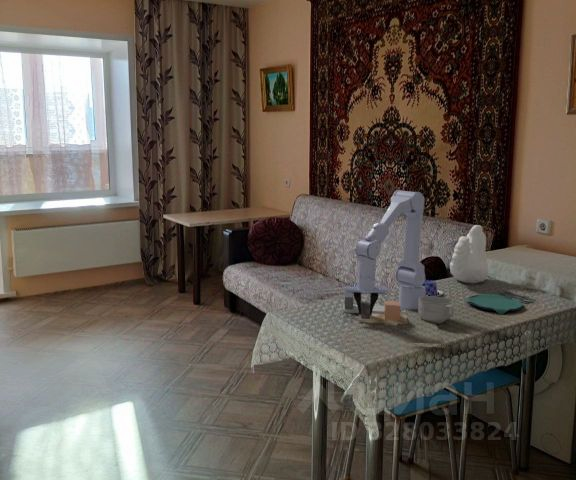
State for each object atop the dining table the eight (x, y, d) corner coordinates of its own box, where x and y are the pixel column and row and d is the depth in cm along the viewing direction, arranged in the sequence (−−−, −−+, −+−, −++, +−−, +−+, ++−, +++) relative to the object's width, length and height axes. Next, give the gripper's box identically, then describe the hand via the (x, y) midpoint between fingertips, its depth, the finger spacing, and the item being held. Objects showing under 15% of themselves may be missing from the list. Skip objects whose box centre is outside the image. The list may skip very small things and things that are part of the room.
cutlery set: (456, 304, 221) (456, 298, 220) (501, 293, 239) (502, 287, 238) (502, 318, 205) (503, 312, 205) (547, 305, 223) (548, 299, 223)
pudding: (410, 296, 232) (410, 283, 231) (415, 288, 243) (415, 276, 242) (441, 299, 227) (441, 286, 226) (444, 291, 238) (445, 279, 237)
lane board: (392, 310, 212) (392, 307, 212) (396, 328, 193) (397, 325, 192) (343, 308, 214) (343, 305, 214) (342, 326, 194) (342, 323, 194)
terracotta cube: (398, 315, 199) (399, 301, 198) (399, 320, 195) (400, 305, 194) (383, 314, 200) (384, 301, 199) (384, 319, 195) (385, 305, 194)
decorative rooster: (466, 274, 266) (470, 221, 262) (496, 281, 254) (500, 225, 249) (430, 282, 252) (433, 226, 247) (460, 290, 239) (464, 231, 235)
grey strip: (387, 308, 211) (387, 294, 210) (388, 314, 204) (389, 299, 203) (343, 306, 212) (343, 292, 211) (343, 312, 205) (343, 297, 204)
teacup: (411, 318, 204) (412, 296, 202) (437, 314, 207) (438, 293, 206) (434, 330, 191) (436, 307, 189) (462, 327, 195) (463, 304, 193)
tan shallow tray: (405, 317, 200) (406, 302, 199) (407, 324, 194) (408, 308, 192) (358, 315, 202) (359, 300, 201) (359, 322, 195) (359, 306, 194)
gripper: (344, 277, 192) (343, 316, 195) (389, 279, 191) (387, 318, 193) (344, 272, 199) (343, 310, 202) (387, 274, 198) (385, 312, 200)
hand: (365, 314), depth 198 cm, fingers closed on tan shallow tray, 3 cm apart
